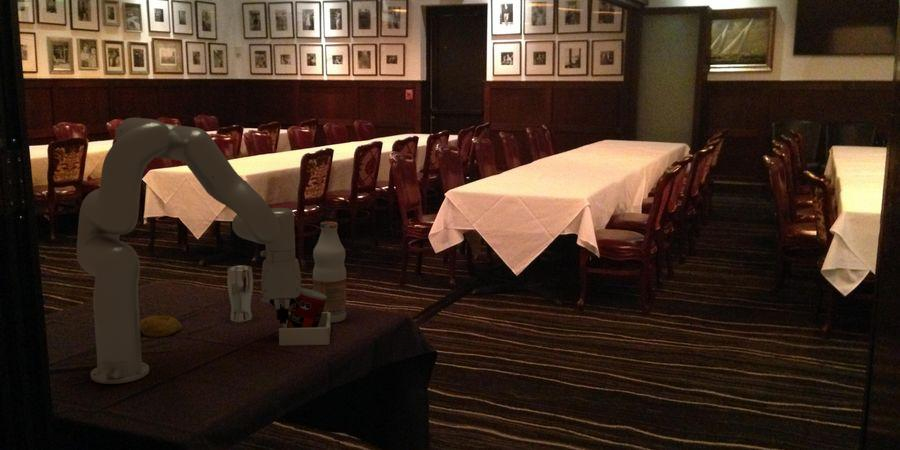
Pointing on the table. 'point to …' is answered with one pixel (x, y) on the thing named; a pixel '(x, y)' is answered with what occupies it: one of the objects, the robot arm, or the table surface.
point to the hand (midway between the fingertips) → (283, 322)
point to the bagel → (159, 326)
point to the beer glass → (240, 292)
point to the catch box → (307, 333)
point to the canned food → (307, 309)
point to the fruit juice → (330, 271)
